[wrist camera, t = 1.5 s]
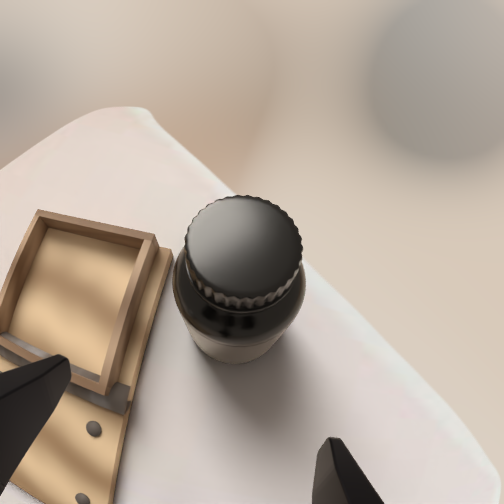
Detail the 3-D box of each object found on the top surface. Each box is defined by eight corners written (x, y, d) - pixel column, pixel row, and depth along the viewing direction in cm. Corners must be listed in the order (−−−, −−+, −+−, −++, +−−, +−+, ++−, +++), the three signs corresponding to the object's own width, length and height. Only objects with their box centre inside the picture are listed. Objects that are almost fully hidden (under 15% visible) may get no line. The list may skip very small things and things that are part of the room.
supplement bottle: (284, 360, 22) (342, 322, 11) (191, 366, 21) (153, 334, 10) (274, 274, 25) (310, 176, 14) (188, 279, 24) (161, 179, 13)
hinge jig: (109, 528, 14) (95, 542, 11) (-18, 452, 14) (-39, 453, 11) (173, 255, 25) (166, 236, 22) (45, 225, 25) (30, 207, 22)
